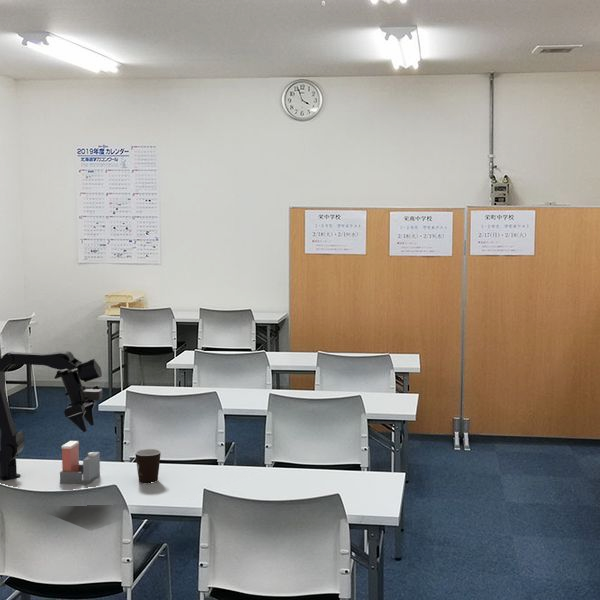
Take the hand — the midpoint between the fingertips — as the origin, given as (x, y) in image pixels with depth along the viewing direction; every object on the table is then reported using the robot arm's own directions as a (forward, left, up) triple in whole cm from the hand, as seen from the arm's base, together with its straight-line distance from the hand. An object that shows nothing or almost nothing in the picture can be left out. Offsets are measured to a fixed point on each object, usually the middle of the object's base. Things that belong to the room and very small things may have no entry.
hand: (89, 428), depth 266 cm
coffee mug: (+18, +12, -18) cm, 28 cm away
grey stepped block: (-1, -4, -17) cm, 18 cm away
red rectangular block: (-3, -5, -16) cm, 17 cm away
